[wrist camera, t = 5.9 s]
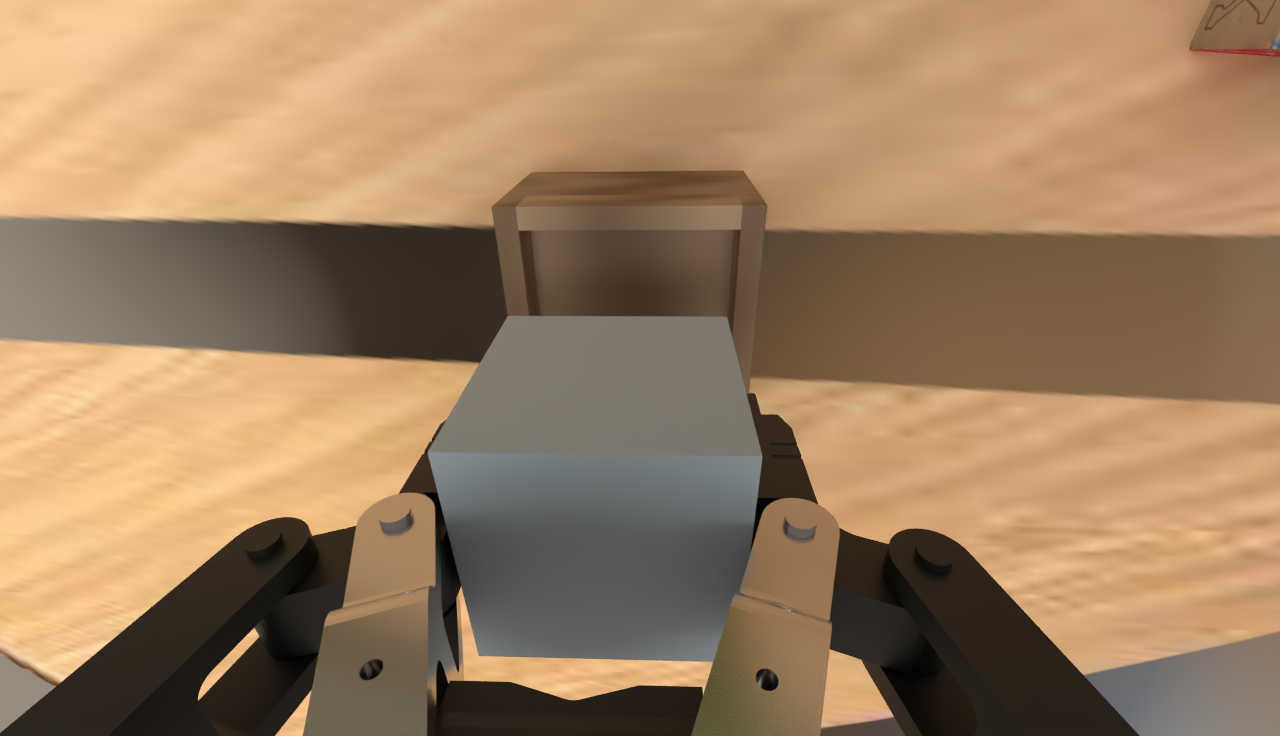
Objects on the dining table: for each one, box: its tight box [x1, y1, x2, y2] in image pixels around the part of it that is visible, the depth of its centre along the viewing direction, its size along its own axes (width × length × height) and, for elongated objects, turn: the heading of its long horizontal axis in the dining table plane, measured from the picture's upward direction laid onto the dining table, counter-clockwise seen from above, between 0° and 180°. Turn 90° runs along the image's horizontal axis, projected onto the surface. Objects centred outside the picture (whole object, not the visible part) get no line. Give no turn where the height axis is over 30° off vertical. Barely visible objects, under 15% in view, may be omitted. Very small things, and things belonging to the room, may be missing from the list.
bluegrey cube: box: [428, 316, 762, 662], centre depth 12 cm, size 5×5×5 cm
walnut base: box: [492, 171, 767, 393], centre depth 20 cm, size 8×8×6 cm
